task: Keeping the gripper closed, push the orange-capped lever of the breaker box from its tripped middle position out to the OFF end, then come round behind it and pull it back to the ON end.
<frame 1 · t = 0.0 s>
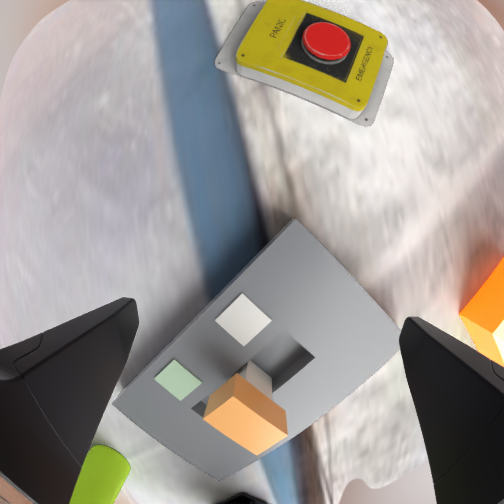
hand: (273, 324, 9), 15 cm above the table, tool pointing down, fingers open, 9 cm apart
orange juice: (493, 306, 24), on the table
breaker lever: (248, 399, 21), point 5 cm above the table, slide at 4.0 cm
soap dispenser: (108, 456, 29), on the table
breaker box: (251, 369, 26), on the table
emergency button: (308, 58, 23), on the table
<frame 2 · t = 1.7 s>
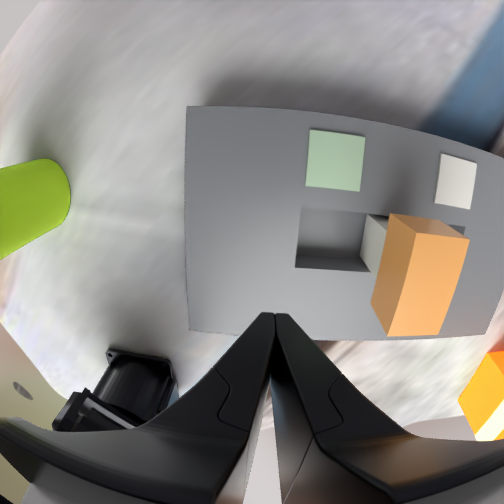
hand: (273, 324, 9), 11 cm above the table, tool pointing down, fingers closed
orange juice: (493, 373, 25), on the table
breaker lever: (401, 258, 15), point 5 cm above the table, slide at 4.0 cm
soap dispenser: (47, 187, 20), on the table
breaker box: (373, 230, 19), on the table
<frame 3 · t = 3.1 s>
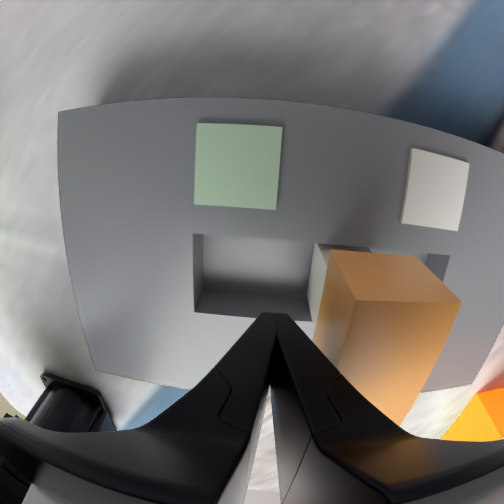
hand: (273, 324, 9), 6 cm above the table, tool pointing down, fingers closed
orange juice: (483, 411, 20), on the table
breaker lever: (354, 311, 10), point 5 cm above the table, slide at 4.6 cm, touching gripper
breaker box: (318, 258, 15), on the table
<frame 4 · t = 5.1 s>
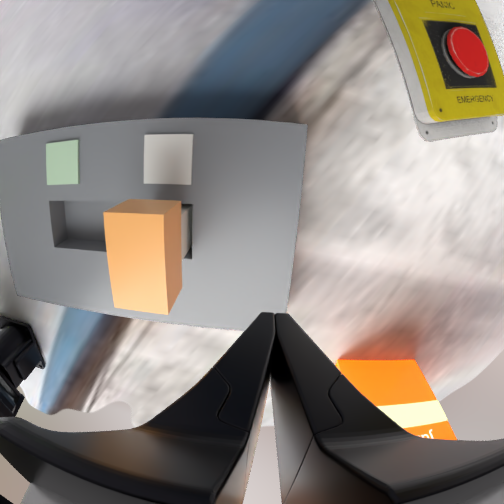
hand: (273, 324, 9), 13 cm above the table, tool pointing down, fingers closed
orange juice: (365, 385, 27), on the table
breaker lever: (158, 240, 17), point 5 cm above the table, slide at 8.0 cm
breaker box: (129, 216, 21), on the table
emergency button: (435, 49, 16), on the table
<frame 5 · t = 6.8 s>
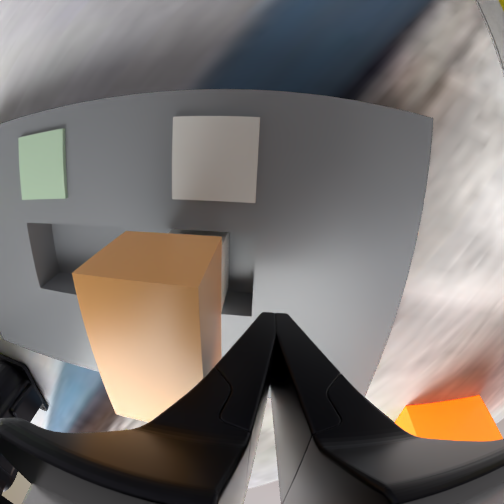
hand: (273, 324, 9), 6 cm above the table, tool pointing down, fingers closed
orange juice: (426, 425, 20), on the table
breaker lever: (180, 297, 10), point 5 cm above the table, slide at 7.2 cm, touching gripper
breaker box: (147, 242, 15), on the table
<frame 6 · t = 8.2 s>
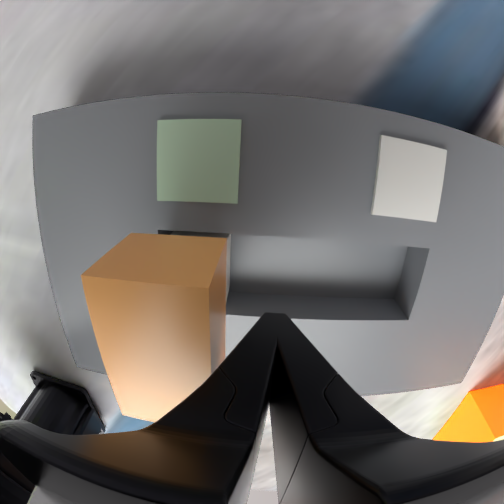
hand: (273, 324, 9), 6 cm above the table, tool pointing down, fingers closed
orange juice: (477, 410, 20), on the table
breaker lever: (184, 298, 10), point 5 cm above the table, slide at -0.1 cm, touching gripper
breaker box: (292, 253, 15), on the table
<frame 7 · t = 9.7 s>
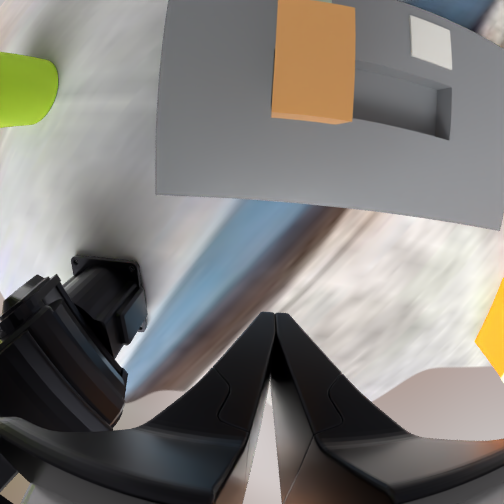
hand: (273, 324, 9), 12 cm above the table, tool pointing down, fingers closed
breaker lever: (305, 73, 12), point 5 cm above the table, slide at 0.0 cm
soap dispenser: (38, 86, 17), on the table
breaker box: (357, 97, 17), on the table
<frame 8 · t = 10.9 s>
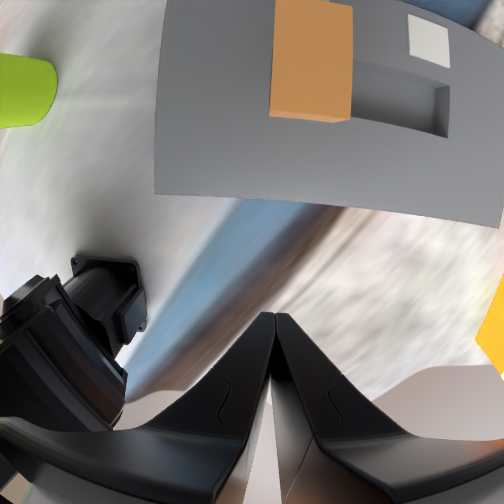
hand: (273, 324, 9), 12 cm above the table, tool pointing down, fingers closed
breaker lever: (303, 72, 12), point 5 cm above the table, slide at 0.0 cm
soap dispenser: (37, 87, 17), on the table
breaker box: (355, 96, 17), on the table
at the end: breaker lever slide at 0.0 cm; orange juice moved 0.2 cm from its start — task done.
